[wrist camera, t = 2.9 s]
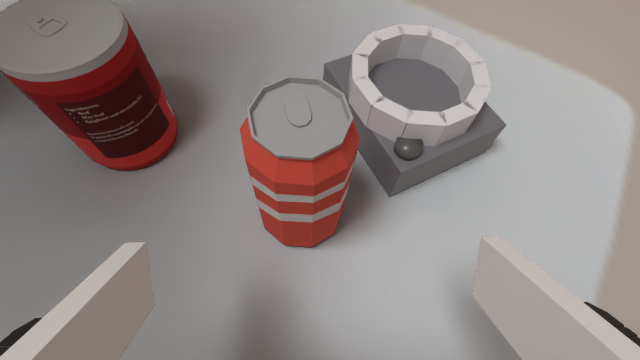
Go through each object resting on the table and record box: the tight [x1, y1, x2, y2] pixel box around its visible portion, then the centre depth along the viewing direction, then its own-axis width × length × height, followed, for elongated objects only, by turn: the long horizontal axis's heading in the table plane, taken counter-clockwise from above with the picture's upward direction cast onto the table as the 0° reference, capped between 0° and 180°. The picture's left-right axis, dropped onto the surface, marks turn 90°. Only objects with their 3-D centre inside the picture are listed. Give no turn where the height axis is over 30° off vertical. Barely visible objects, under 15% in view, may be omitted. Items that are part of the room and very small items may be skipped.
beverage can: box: [240, 75, 360, 247], centre depth 22 cm, size 6×6×12 cm
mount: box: [323, 24, 506, 197], centre depth 29 cm, size 12×10×6 cm
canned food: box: [0, 0, 177, 170], centre depth 25 cm, size 8×8×11 cm
